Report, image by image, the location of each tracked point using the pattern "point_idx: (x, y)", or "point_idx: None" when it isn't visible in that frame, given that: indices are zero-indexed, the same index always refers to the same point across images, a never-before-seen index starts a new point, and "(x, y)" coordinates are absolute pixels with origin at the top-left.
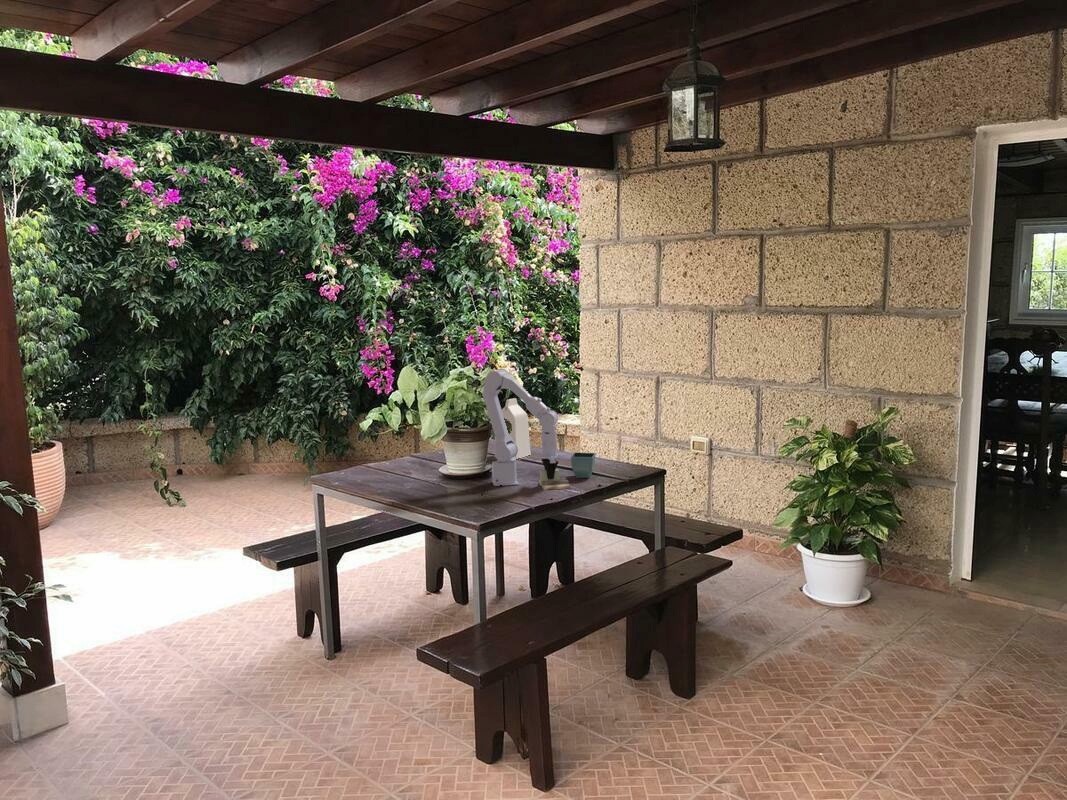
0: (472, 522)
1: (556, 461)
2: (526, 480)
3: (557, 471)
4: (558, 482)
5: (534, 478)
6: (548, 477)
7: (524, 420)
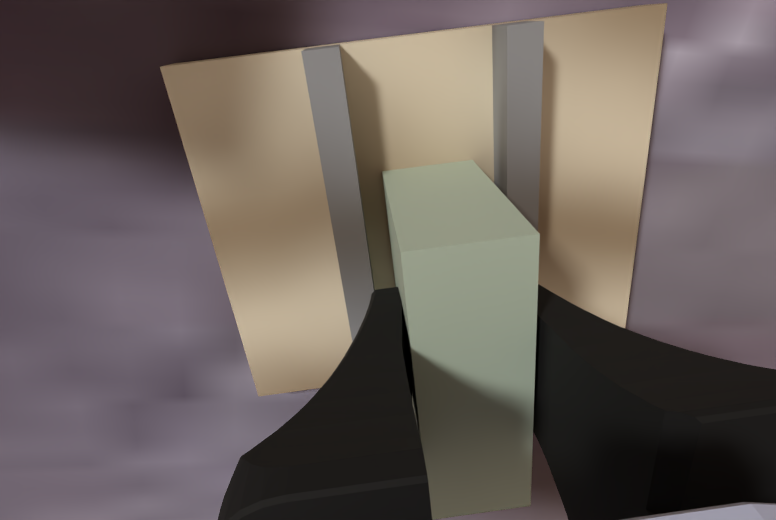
0: None
1: (763, 451)
2: (146, 477)
3: (533, 262)
4: (532, 184)
5: (31, 416)
6: None
7: None
